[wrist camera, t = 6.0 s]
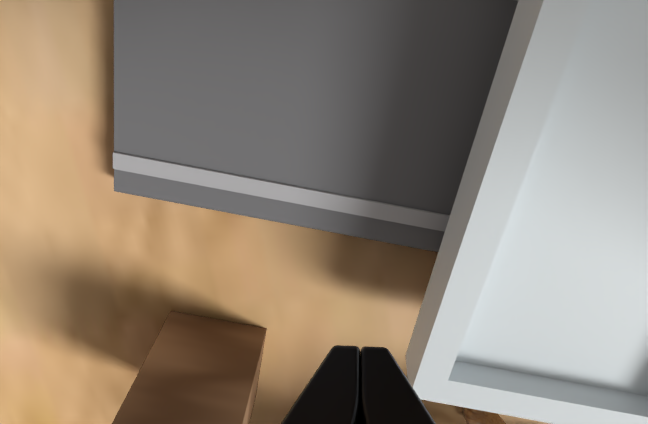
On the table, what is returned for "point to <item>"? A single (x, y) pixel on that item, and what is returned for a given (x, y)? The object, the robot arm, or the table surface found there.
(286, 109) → the track mat
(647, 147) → the white rimmed tray
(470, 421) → the lion figurine
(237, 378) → the brown wooden block
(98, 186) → the table surface
